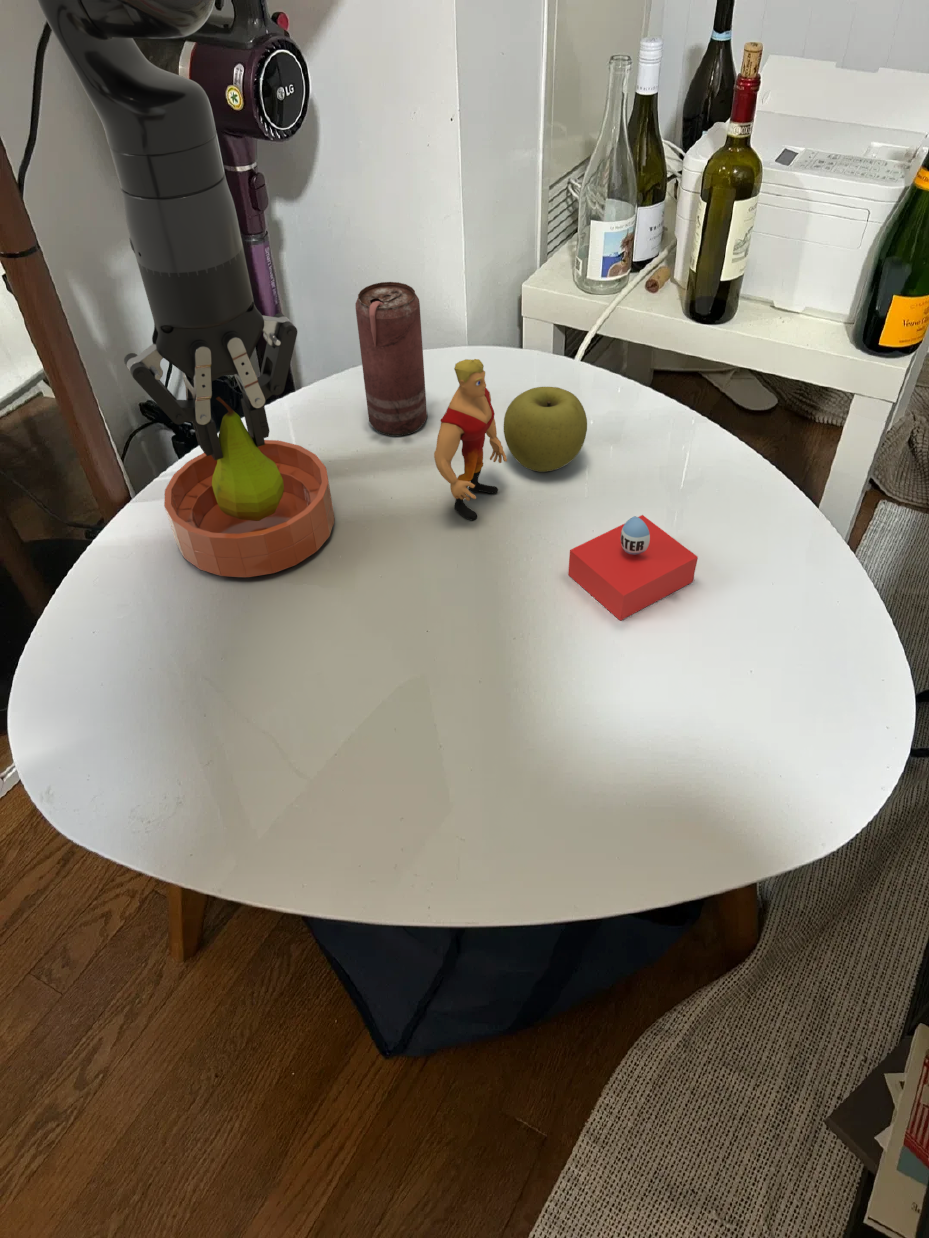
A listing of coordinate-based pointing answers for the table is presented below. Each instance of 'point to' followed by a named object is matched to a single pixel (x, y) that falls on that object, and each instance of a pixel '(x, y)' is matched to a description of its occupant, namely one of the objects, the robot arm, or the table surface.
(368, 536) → the table surface
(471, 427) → the action figure
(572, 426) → the apple
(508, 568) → the table surface
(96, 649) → the table surface
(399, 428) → the can
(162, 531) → the table surface
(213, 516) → the bowl
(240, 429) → the fruit
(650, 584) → the red rectangular block
